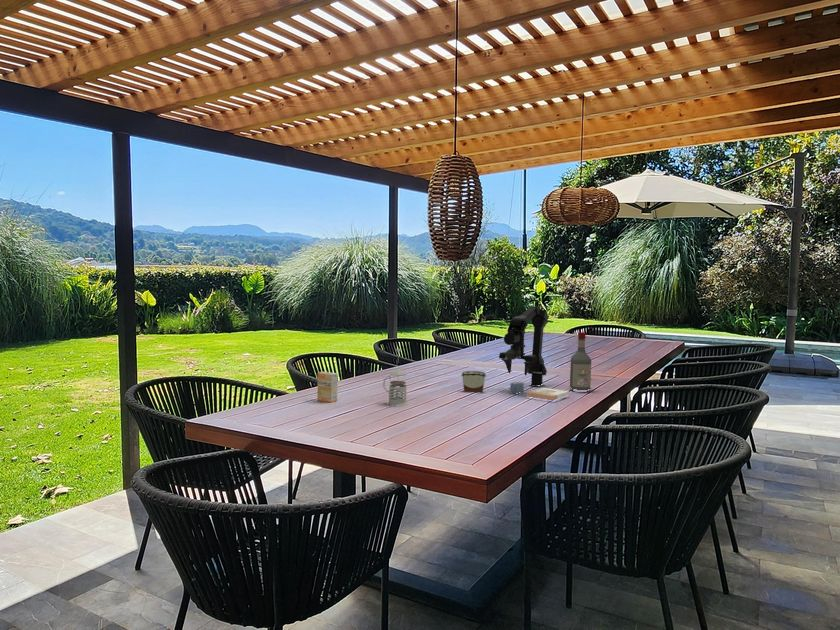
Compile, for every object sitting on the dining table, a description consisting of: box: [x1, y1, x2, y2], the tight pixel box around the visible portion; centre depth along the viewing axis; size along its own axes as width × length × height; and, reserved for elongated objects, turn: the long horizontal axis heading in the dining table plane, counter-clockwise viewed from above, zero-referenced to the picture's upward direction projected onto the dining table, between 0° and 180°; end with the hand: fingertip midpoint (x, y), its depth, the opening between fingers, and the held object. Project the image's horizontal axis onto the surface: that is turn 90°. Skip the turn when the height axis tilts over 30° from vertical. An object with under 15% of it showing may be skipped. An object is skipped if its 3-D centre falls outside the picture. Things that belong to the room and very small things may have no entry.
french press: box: [382, 348, 409, 406], centre depth 266 cm, size 10×12×25 cm
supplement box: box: [316, 370, 339, 404], centre depth 269 cm, size 8×5×13 cm, turn 62°
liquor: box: [569, 331, 592, 390], centre depth 300 cm, size 9×9×30 cm
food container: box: [460, 370, 487, 393], centre depth 296 cm, size 12×6×10 cm, turn 84°
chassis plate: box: [526, 387, 570, 400], centre depth 283 cm, size 16×14×3 cm
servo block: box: [509, 381, 525, 394], centre depth 294 cm, size 9×4×6 cm, turn 140°
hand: (517, 374), depth 294 cm, fingers open, 9 cm apart
